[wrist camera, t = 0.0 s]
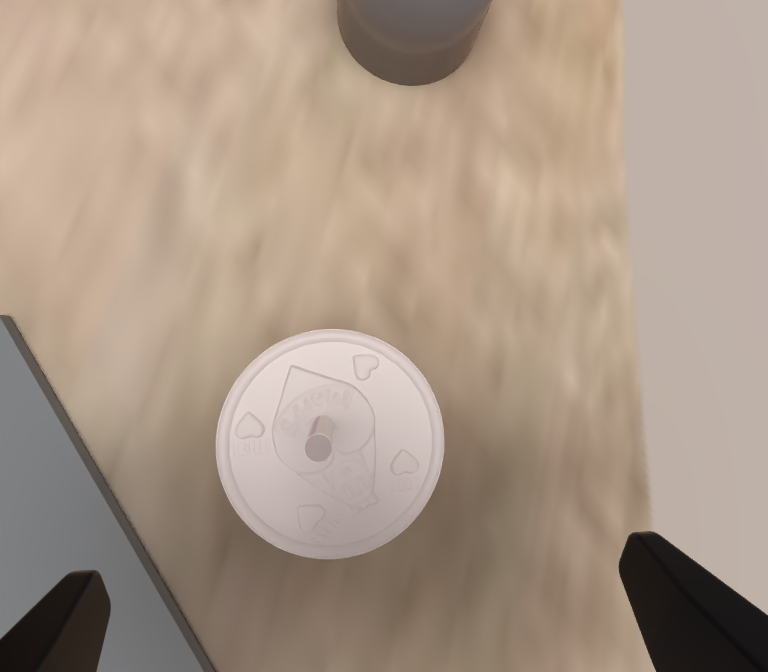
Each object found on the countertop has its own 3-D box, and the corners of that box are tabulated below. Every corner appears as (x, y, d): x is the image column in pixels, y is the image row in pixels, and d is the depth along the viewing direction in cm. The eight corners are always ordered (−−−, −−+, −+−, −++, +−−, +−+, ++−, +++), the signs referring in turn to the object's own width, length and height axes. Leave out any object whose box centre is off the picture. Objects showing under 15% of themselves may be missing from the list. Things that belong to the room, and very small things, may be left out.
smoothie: (361, 321, 24) (401, 250, 10) (426, 441, 24) (554, 539, 10) (237, 386, 23) (94, 405, 9) (303, 511, 23) (256, 720, 9)
